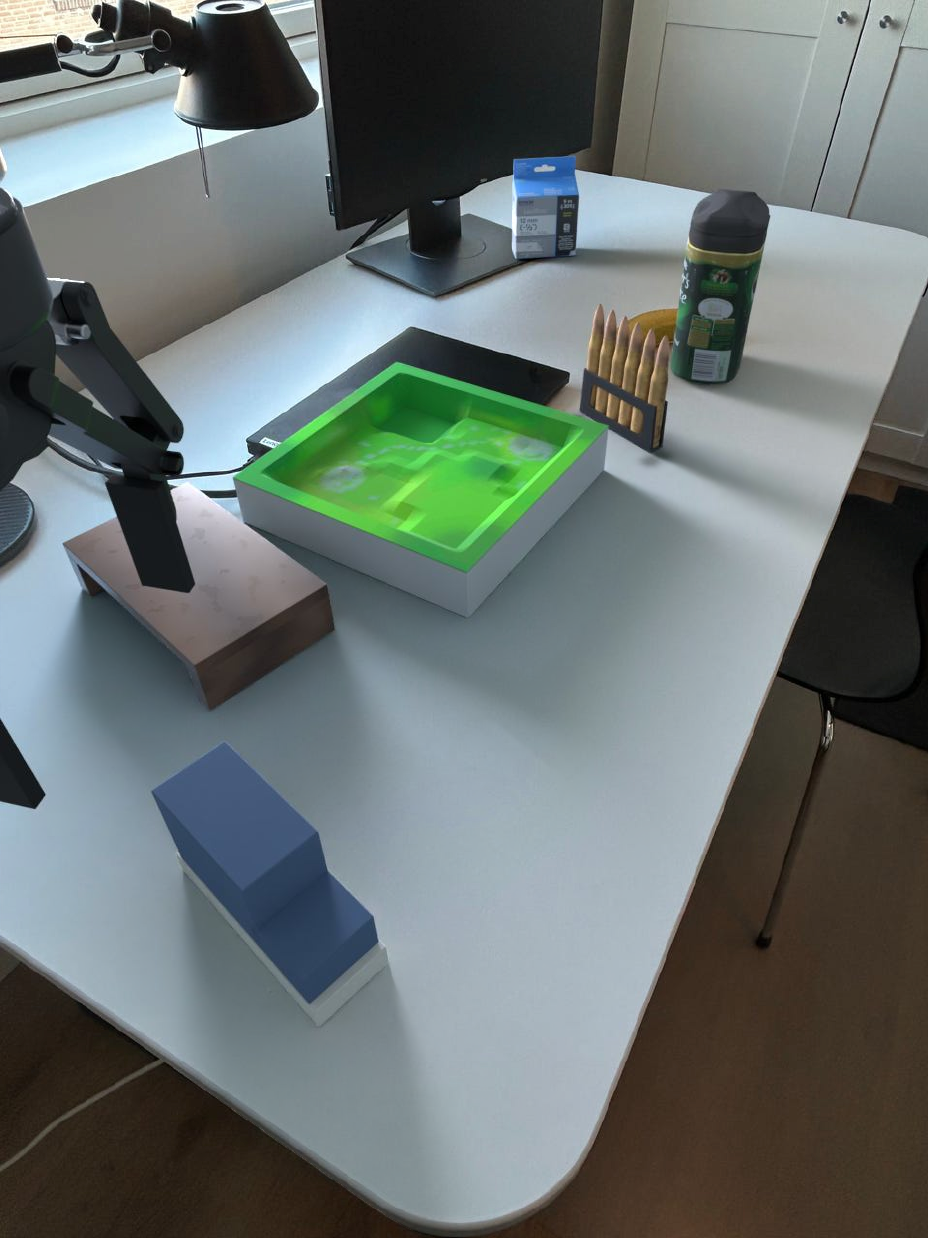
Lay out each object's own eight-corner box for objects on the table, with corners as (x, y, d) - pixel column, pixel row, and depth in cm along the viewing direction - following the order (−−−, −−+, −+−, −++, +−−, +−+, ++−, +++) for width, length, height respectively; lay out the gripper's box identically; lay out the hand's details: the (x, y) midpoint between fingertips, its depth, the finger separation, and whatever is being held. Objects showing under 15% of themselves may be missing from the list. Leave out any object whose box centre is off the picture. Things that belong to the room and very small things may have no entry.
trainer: (318, 1028, 49) (293, 953, 42) (182, 869, 56) (143, 786, 50) (389, 962, 51) (374, 883, 45) (250, 819, 59) (221, 734, 52)
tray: (468, 618, 72) (466, 572, 69) (243, 521, 82) (232, 477, 79) (604, 469, 87) (608, 425, 84) (399, 403, 97) (396, 361, 94)
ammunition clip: (578, 410, 95) (586, 303, 87) (591, 405, 96) (600, 298, 88) (650, 453, 89) (666, 342, 81) (663, 446, 90) (680, 336, 81)
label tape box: (514, 260, 125) (516, 167, 117) (511, 249, 128) (512, 157, 120) (575, 257, 125) (582, 164, 117) (571, 246, 128) (576, 154, 120)
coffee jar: (675, 344, 106) (700, 179, 93) (742, 352, 104) (778, 185, 91) (662, 382, 99) (687, 211, 86) (734, 392, 97) (771, 218, 84)
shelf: (210, 711, 65) (194, 665, 62) (81, 588, 76) (61, 542, 72) (335, 629, 71) (327, 583, 68) (200, 526, 82) (187, 481, 78)
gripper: (-400, 439, 17) (8, 942, 32) (188, 103, 35) (277, 529, 49) (-675, 398, 19) (-164, 897, 33) (22, 95, 36) (157, 511, 51)
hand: (99, 678), depth 41 cm, fingers open, 13 cm apart
